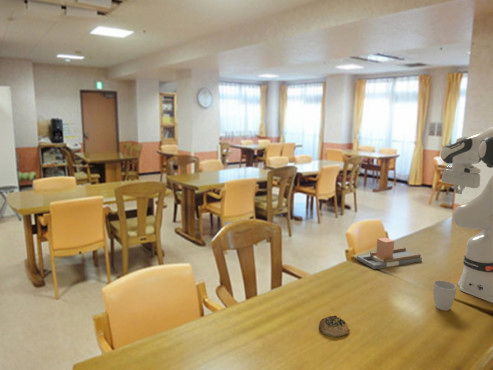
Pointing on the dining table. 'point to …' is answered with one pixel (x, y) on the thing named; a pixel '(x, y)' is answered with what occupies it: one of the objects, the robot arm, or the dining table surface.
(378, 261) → the tray
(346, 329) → the bread roll
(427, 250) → the dining table surface
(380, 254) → the block
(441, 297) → the cup
